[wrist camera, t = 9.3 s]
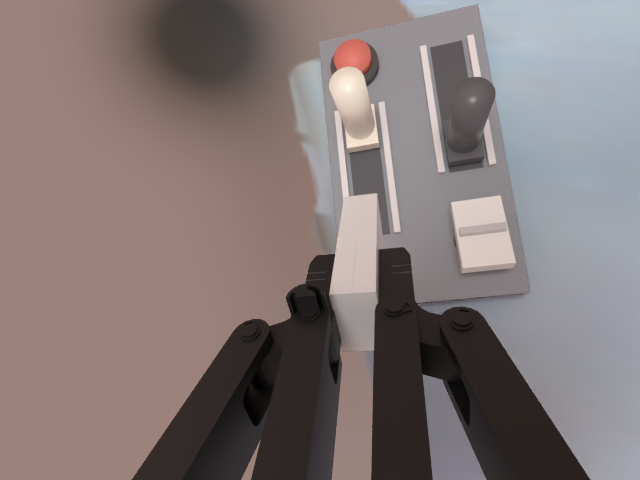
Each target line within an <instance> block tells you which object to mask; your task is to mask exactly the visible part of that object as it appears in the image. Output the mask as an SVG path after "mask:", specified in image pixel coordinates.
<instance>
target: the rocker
mask: <svg viewBox="0 0 640 480" xmlns="http://www.w3.org/2000/svg"><path fill="white" fill-rule="evenodd" d="M450 210H451V215H452V221H453V227H454V233H455V238H456V244H457V250H458V255H459V261H460V267H461V272H462V273H470V272H480V271H489V270H499V269H509V268H513V267H514V265H515V264H516V260H515V256H514V251H513V247H512V243H511V239H510V234H509V230H508V226H507V221H506V217H505V213H504V208H503V204H502V200H501V195H499V196H492V197H485V198H478V199H470V200H463V201H456V202H451V208H450Z"/></svg>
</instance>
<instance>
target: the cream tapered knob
mask: <svg viewBox="0 0 640 480" xmlns="http://www.w3.org/2000/svg"><path fill="white" fill-rule="evenodd" d="M329 89H330V92H331V94H332V97H333V99H334V102H335V104H336V107H337V109H338V111H339V114H340V116H341V119H342V121H343V124H344V126H345V133H346V143H347V149H348V151H349V153H352V152H357V151H363V150H369V149H375V148H380V145H379V137H378V129H377V120H376V112H375V106H374V104H371V103H370V99H369V95H368V91H367V87H366V82H365V78H364V75H363V73H362V72H361V71H360V70H359V69H357V68H355V67H343V68H341V69H339V70H337V71H336V72H335V73H334V74H333V75H332V77H331V79H330V82H329Z"/></svg>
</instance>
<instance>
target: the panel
mask: <svg viewBox="0 0 640 480" xmlns="http://www.w3.org/2000/svg"><path fill="white" fill-rule="evenodd" d="M319 48H320V58H321V69H322V79H323V90H324V101H325V111H326V122H327V132H328V143H329V153H330V164H331V175H332V185H333V196H334V206H335V217H336V227H337V238H338V233H339V227H340V220H341V214H342V207H343V201H344V197H348V196H357V195H365V194H374V193H377V195H378V203H379V210H380V218H381V225H382V233H383V240H384V249H388V248H399V247H404V248H405V249H406V250H407V251H408V252H409V254H410V256H411V266H412V276H413V286H414V296H415V300H416V303H424V302H435V301H446V300H457V299H469V298H480V297H491V296H502V295H513V294H524V293H530V287H529V282H528V276H527V271H526V265H525V260H524V254H523V249H522V243H521V238H520V232H519V227H518V221H517V216H516V210H515V205H514V199H513V194H512V188H511V183H510V177H509V172H508V166H507V161H506V155H505V150H504V144H503V139H502V133H501V128H500V122H499V117H498V111H497V106H496V100H495V99H494V102H493V105H492V108H491V110H490V113H489V116H488V119H487V122H486V125H485V127H484V130H483V133H482V136H481V137H482V143H483V149H484V155H485V157H484V159H483V161H481V162H474V163H468V164H462V165H455V166H449V167H448V162H447V155H446V149H445V142H444V135H443V129H442V123H443V121H444V120H449V119H450V115H451V109H452V103H453V96H454V91H455V89H456V87H457V86H458V84H459V83H460V82H462V81H463V80H465V79H467V78H470V77H482V78H485V79H487V80H488V81H490V82H491V83H492V78H491V73H490V67H489V62H488V56H487V51H486V45H485V40H484V34H483V29H482V23H481V18H480V13H479V7H478V4H476V5H472V6H468V7H464V8H459V9H455V10H451V11H447V12H443V13H438V14H434V15H430V16H426V17H422V18H418V19H413V20H409V21H405V22H401V23H397V24H392V25H388V26H384V27H380V28H376V29H371V30H367V31H364V32H359V33H355V34H351V35H347V36H342V37H338V38H334V39H330V40H326V41H321V42H319ZM343 67H355V68H357V69H359V70H360V71H361V72H362V73H363V75H364V78H365V82H366V87H367V91H368V95H369V99H370V103H371V104H374V106H375V112H376V120H377V129H378V137H379V145H380V148H375V149H369V150H363V151H357V152H352V153H349V151H348V149H347V143H346V133H345V126H344V124H343V121H342V119H341V116H340V114H339V111H338V109H337V107H336V104H335V102H334V99H333V97H332V94H331V92H330V89H329V82H330V79H331V77H332V75H333V74H334V73H335V72H336V71H337V70H339V69H341V68H343ZM492 85H493V84H492ZM499 195H501V200H502V204H503V208H504V213H505V217H506V221H507V226H508V230H509V234H510V239H511V243H512V247H513V251H514V256H515V260H516V264H515V265H514V267H513V268H509V269H499V270H489V271H480V272H470V273H462V272H461V267H460V261H459V255H458V250H457V244H456V238H455V233H454V227H453V221H452V215H451V210H450V208H451V202H456V201H463V200H470V199H478V198H485V197H492V196H499Z"/></svg>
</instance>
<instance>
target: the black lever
mask: <svg viewBox="0 0 640 480" xmlns="http://www.w3.org/2000/svg"><path fill="white" fill-rule="evenodd" d="M494 99H495V88H494V86H493V85H492V83H491V82H490V81H488V80H487V79H485V78H482V77H470V78H467V79H465V80H463V81H462V82H460V83H459V84H458V86H457V87H456V89H455V91H454V96H453V103H452V109H451V115H450V119H449V120H444V121H443V123H442V129H443V135H444V142H445V149H446V155H447V162H448V167H449V166H455V165H462V164H468V163H474V162H481V161H483V159H484V157H485V155H484V149H483V143H482V137H481V136H482V133H483V130H484V127H485V125H486V122H487V119H488V116H489V113H490V110H491V108H492V105H493V102H494Z"/></svg>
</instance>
